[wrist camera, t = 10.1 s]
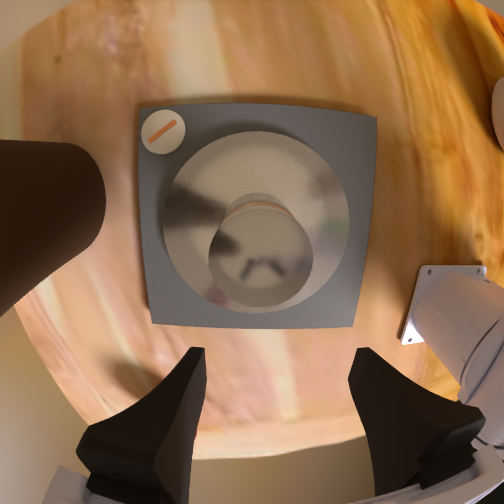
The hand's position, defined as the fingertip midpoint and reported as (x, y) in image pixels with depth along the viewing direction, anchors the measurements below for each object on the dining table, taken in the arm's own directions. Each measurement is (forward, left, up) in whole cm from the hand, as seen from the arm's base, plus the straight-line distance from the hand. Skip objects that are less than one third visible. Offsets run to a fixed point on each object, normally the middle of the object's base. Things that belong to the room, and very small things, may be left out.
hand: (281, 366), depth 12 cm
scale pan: (+1, -5, -8) cm, 9 cm away
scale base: (+1, -5, -9) cm, 10 cm away
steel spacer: (+1, -5, -7) cm, 9 cm away
